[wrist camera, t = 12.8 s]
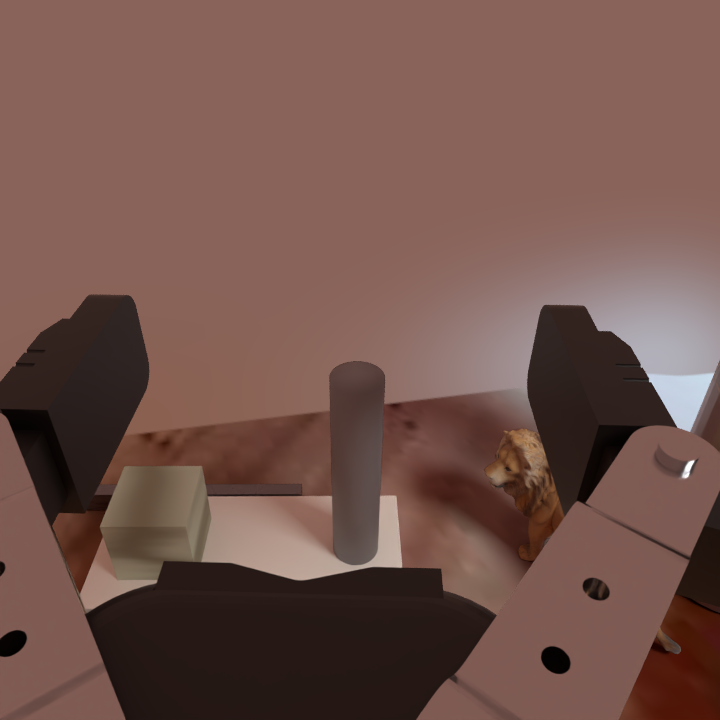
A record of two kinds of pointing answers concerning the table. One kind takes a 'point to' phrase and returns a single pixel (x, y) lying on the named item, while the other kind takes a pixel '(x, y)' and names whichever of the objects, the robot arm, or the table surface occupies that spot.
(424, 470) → the table surface
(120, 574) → the block
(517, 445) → the lion figurine
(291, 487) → the guide rails
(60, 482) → the robot arm
